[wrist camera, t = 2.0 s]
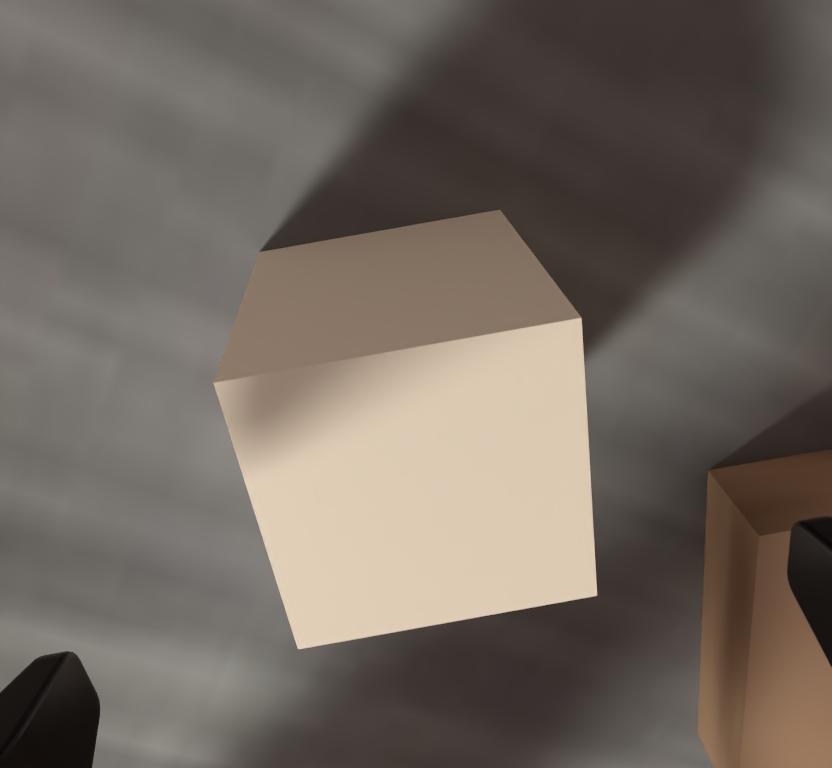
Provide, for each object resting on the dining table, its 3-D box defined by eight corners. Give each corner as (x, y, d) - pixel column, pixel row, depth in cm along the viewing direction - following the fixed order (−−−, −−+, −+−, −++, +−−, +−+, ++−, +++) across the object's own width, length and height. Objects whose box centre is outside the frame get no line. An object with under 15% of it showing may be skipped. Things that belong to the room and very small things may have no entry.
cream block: (312, 453, 18) (297, 649, 12) (259, 251, 15) (213, 383, 10) (521, 417, 18) (597, 595, 12) (499, 209, 15) (581, 317, 10)
